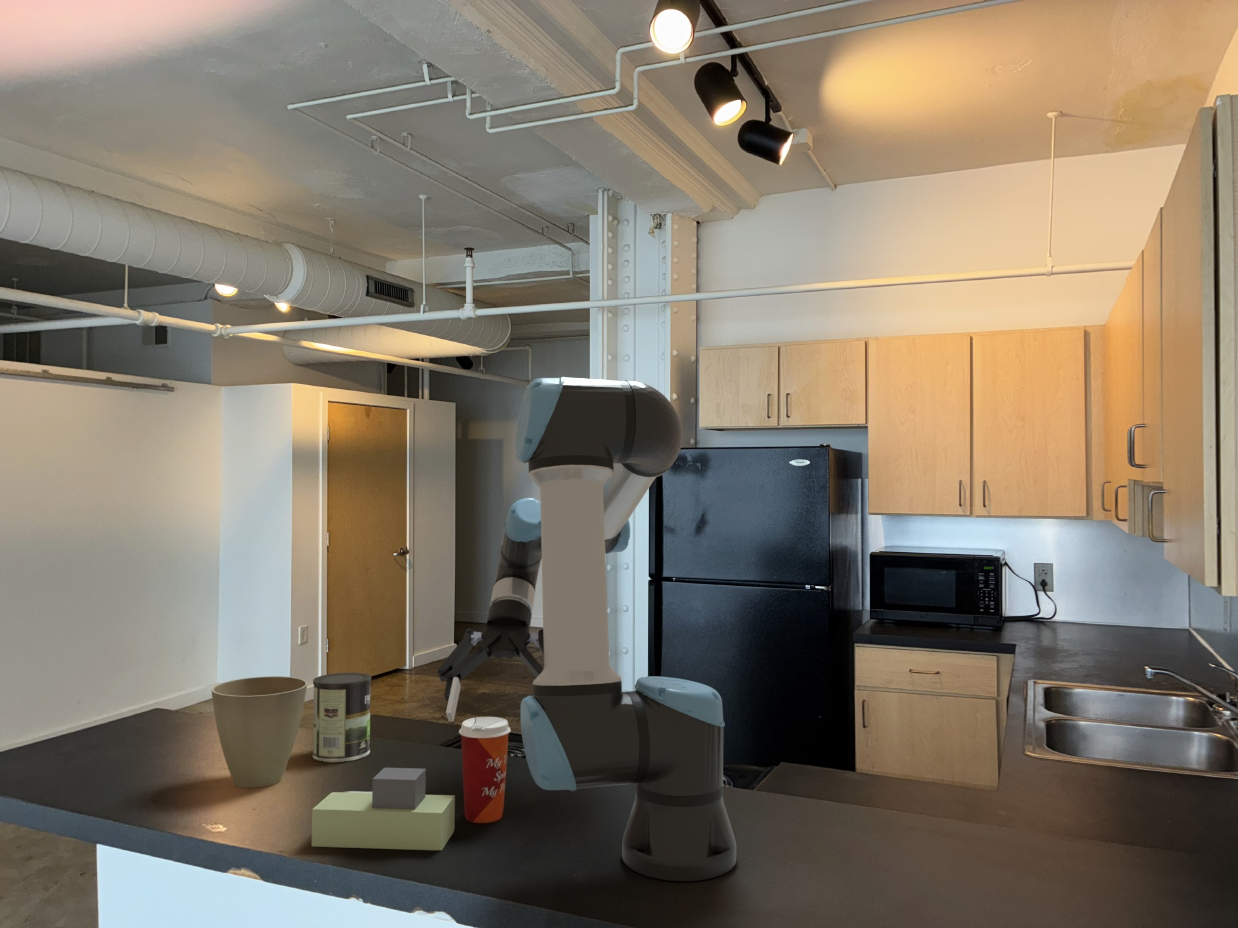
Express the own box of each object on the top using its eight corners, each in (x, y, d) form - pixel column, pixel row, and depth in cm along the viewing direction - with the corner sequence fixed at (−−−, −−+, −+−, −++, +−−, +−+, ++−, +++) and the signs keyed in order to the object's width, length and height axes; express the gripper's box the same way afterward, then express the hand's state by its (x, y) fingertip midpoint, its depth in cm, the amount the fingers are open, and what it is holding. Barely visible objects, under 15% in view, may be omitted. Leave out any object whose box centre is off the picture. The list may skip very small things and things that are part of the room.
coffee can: (368, 744, 170) (369, 670, 170) (372, 759, 160) (373, 681, 161) (311, 749, 166) (312, 673, 167) (312, 765, 157) (313, 685, 157)
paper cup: (499, 827, 128) (501, 729, 128) (449, 823, 129) (451, 726, 130) (516, 809, 135) (517, 716, 136) (469, 805, 137) (470, 714, 137)
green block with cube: (470, 806, 136) (471, 747, 137) (441, 850, 119) (442, 782, 120) (344, 802, 138) (345, 744, 138) (298, 845, 121) (299, 779, 121)
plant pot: (188, 791, 142) (190, 692, 143) (248, 764, 157) (249, 674, 157) (270, 799, 139) (272, 697, 139) (323, 771, 153) (324, 678, 154)
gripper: (583, 624, 157) (572, 732, 141) (444, 622, 159) (419, 728, 143) (580, 597, 152) (568, 706, 136) (437, 595, 153) (409, 703, 138)
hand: (492, 718), depth 140 cm, fingers open, 13 cm apart
